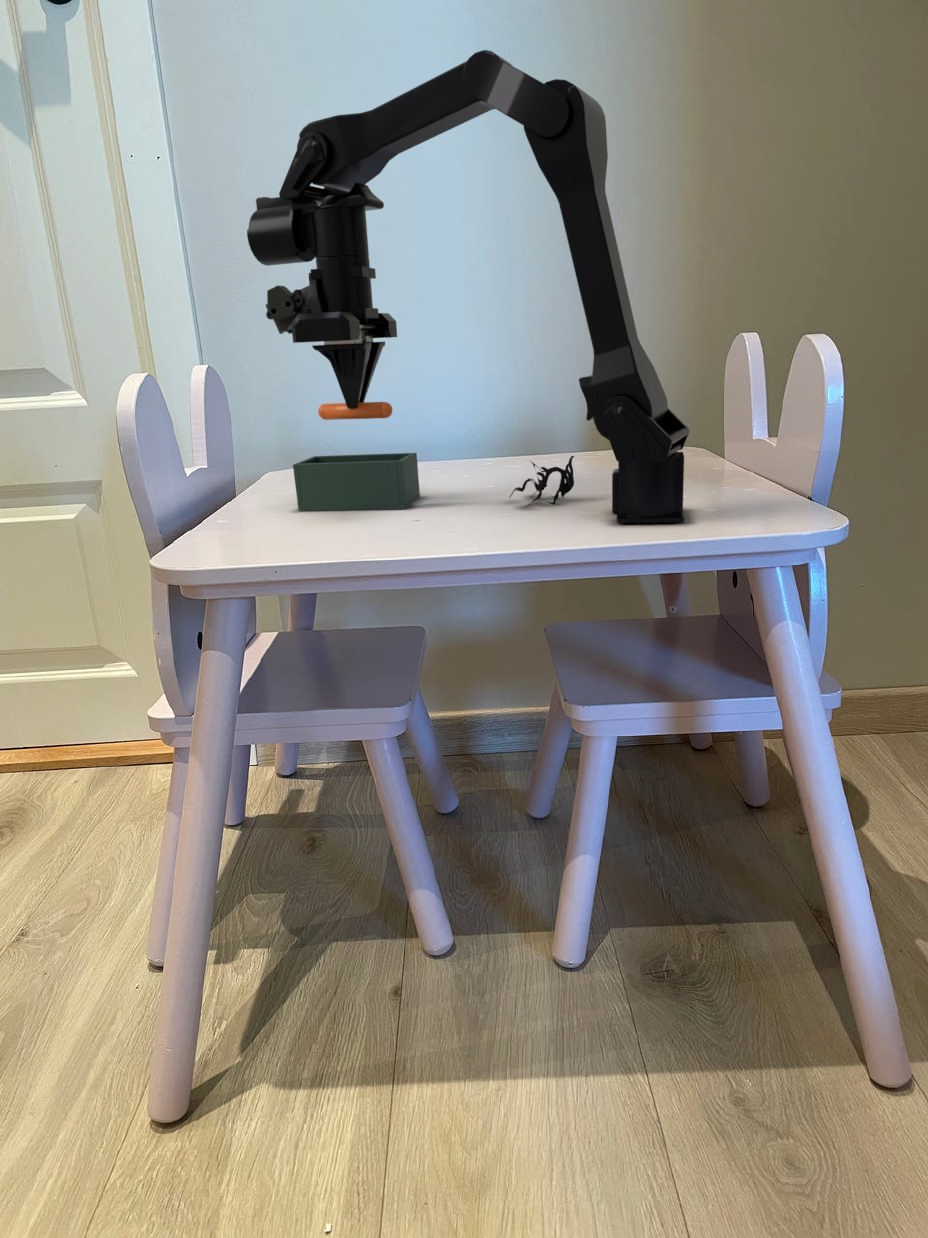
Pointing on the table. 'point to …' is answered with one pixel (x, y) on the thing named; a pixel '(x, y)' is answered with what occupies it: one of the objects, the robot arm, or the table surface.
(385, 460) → the bin
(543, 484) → the creature
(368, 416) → the orange capsule cylinder
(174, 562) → the table surface
